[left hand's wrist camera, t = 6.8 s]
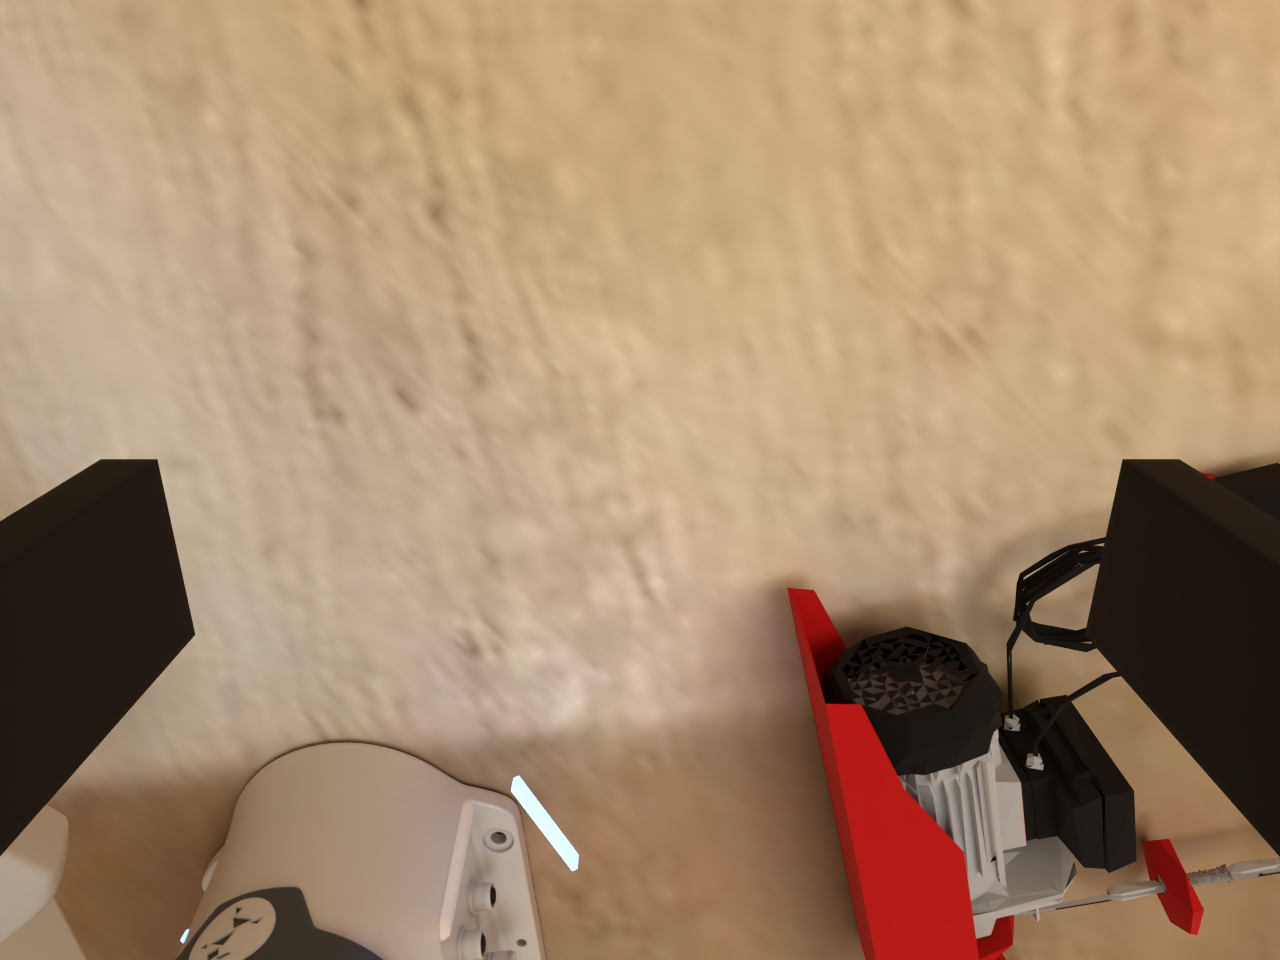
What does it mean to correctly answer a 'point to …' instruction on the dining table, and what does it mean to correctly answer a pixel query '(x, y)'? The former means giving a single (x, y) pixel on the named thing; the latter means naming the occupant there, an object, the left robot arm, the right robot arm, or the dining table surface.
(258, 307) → the dining table surface
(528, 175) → the dining table surface
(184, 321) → the dining table surface
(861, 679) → the electric hoist
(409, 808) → the right robot arm
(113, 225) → the dining table surface
